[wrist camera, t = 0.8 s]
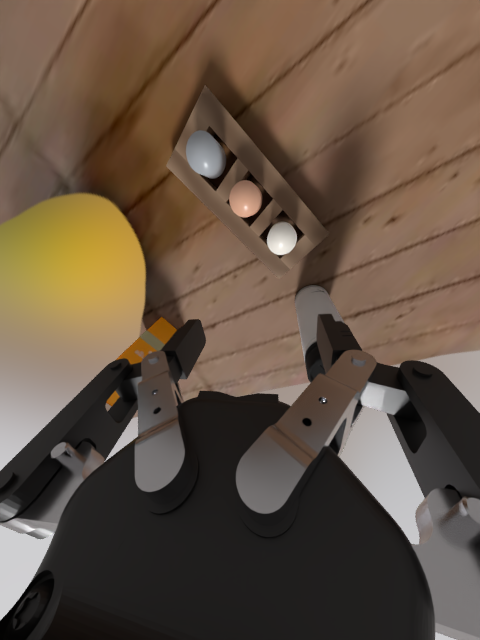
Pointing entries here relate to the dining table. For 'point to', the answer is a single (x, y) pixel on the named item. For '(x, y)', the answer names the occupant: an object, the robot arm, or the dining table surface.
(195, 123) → the tan frame
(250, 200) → the peach egg
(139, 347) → the orange juice
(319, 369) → the travel mug
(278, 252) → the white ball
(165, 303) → the dining table surface
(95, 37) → the dining table surface
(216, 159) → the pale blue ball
